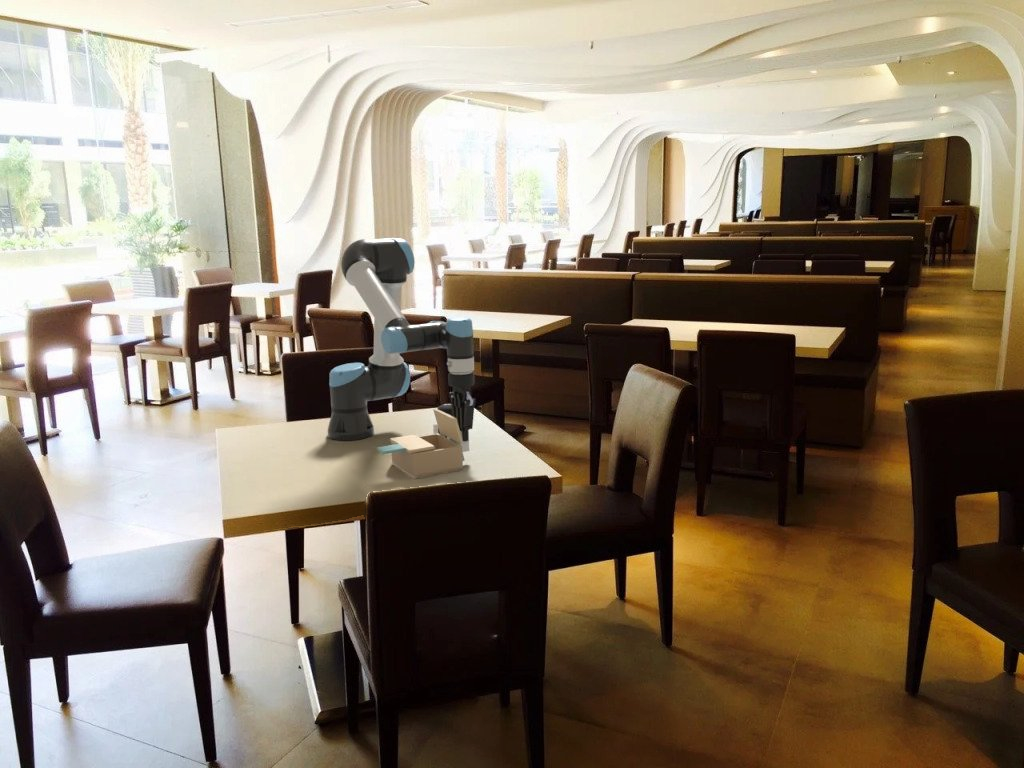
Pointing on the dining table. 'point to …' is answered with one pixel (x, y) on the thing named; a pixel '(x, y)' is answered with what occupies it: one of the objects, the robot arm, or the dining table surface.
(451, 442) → the carton
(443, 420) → the far flap
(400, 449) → the near flap
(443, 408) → the container
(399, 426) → the dining table surface
